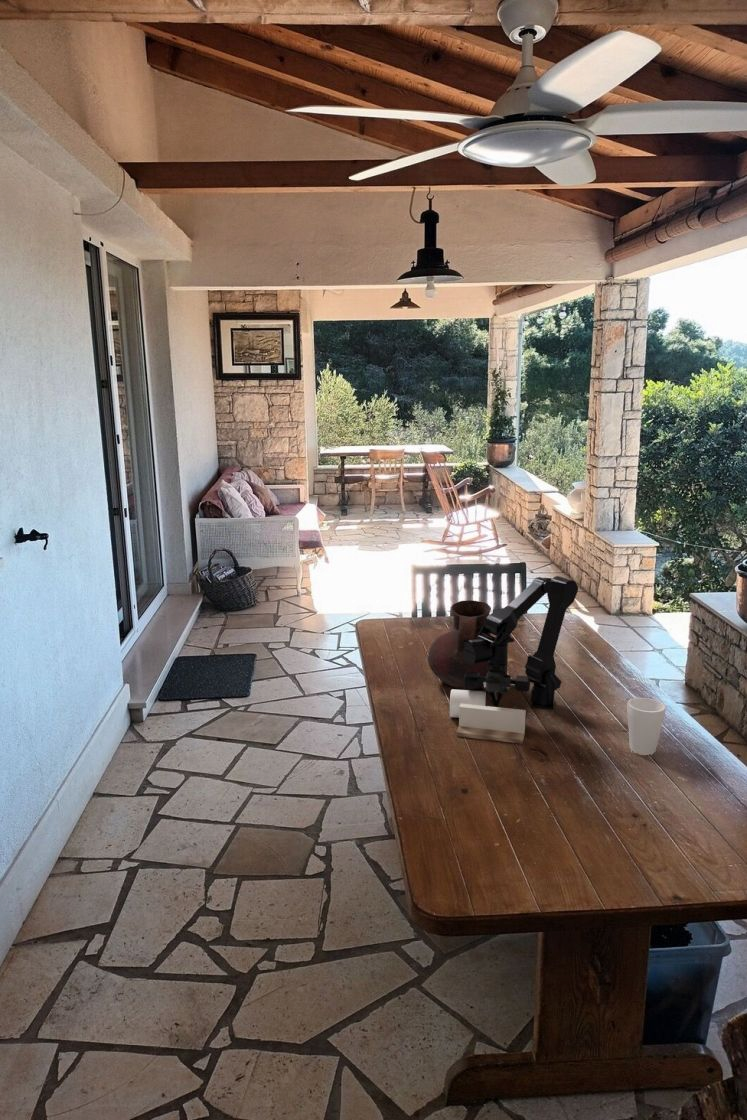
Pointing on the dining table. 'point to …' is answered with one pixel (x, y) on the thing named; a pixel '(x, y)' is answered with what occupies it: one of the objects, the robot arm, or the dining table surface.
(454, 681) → the jug
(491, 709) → the screen
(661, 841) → the dining table surface
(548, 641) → the robot arm
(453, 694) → the mug
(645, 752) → the foam cup
